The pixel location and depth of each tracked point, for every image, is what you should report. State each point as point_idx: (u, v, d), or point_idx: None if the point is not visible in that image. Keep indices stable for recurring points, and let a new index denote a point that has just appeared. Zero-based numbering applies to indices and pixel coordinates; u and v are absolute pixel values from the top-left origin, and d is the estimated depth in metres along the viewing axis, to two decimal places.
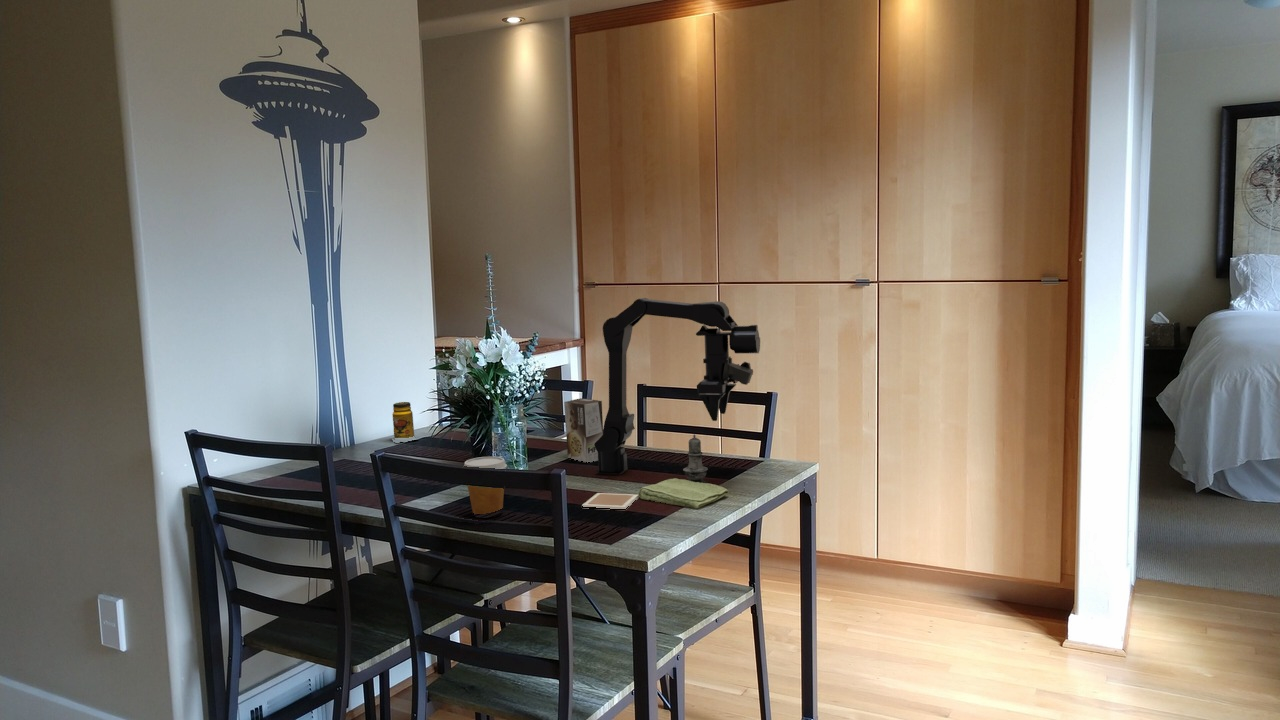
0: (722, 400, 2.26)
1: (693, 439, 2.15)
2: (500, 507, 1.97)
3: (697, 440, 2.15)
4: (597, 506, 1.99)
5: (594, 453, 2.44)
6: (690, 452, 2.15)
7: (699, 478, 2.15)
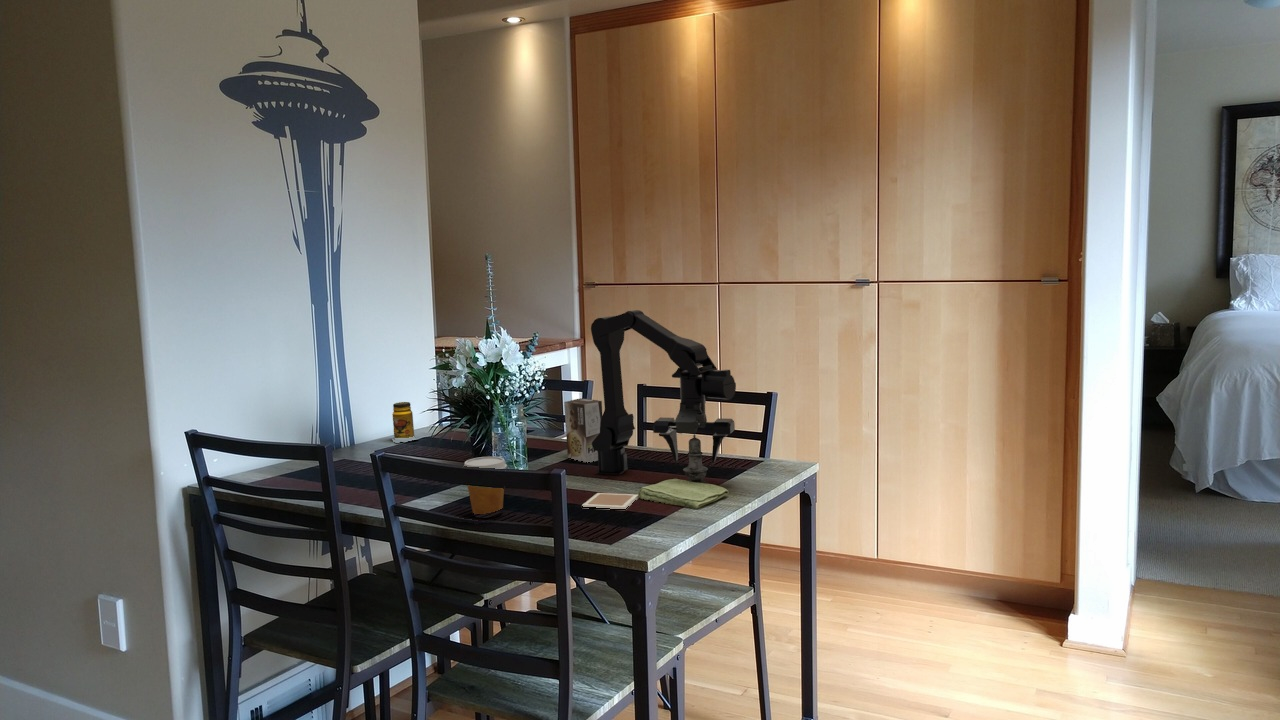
0: None
1: (693, 439, 2.15)
2: (500, 507, 1.97)
3: (697, 440, 2.15)
4: (597, 506, 1.99)
5: (594, 453, 2.44)
6: (690, 452, 2.15)
7: (699, 478, 2.15)
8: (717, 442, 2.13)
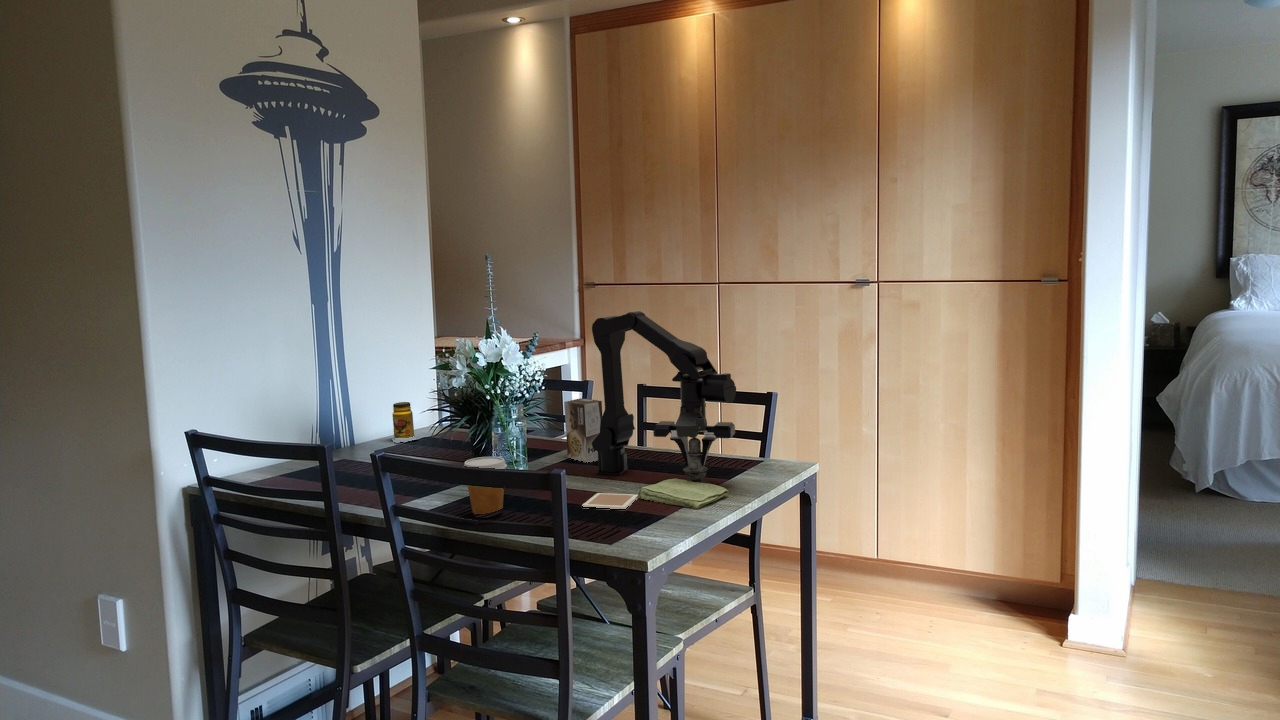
0: None
1: (693, 439, 2.15)
2: (500, 507, 1.97)
3: (697, 440, 2.15)
4: (597, 506, 1.99)
5: (594, 453, 2.44)
6: (690, 452, 2.15)
7: (699, 478, 2.15)
8: (706, 445, 2.14)
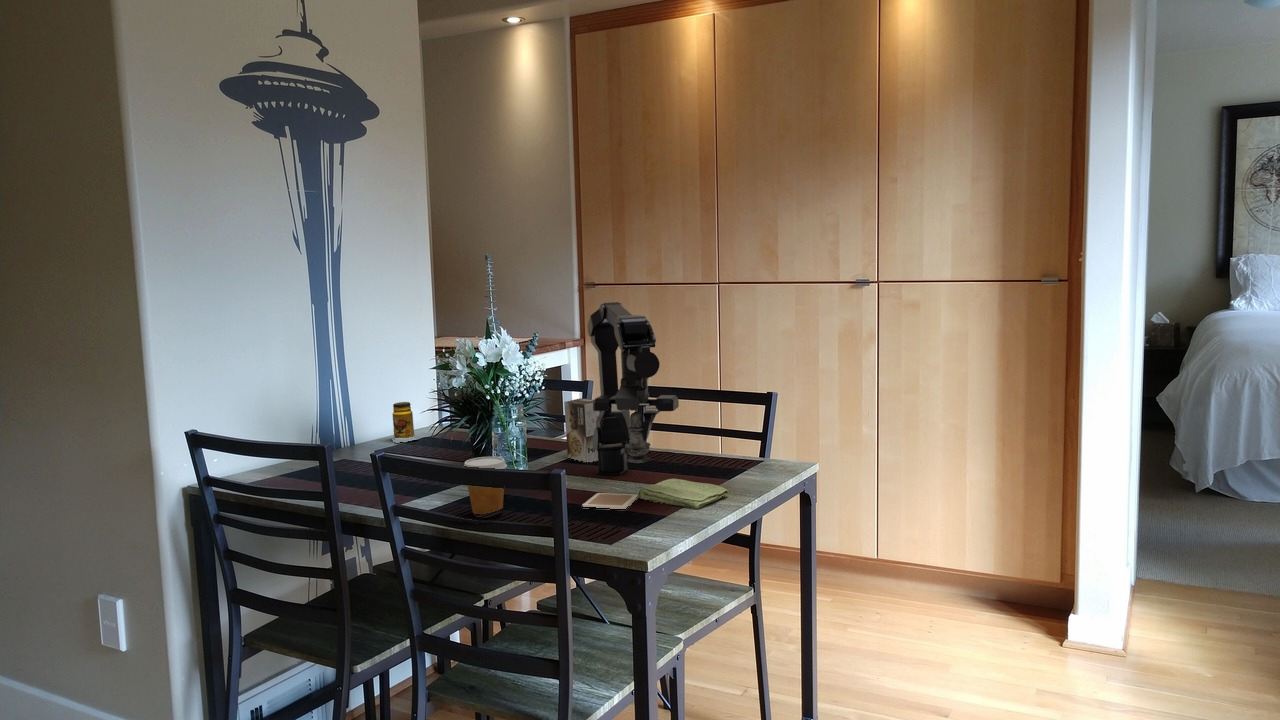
0: None
1: (635, 413, 2.05)
2: (500, 507, 1.97)
3: (639, 414, 2.05)
4: (597, 506, 1.99)
5: (594, 453, 2.44)
6: (632, 427, 2.05)
7: (641, 454, 2.04)
8: (648, 420, 2.03)
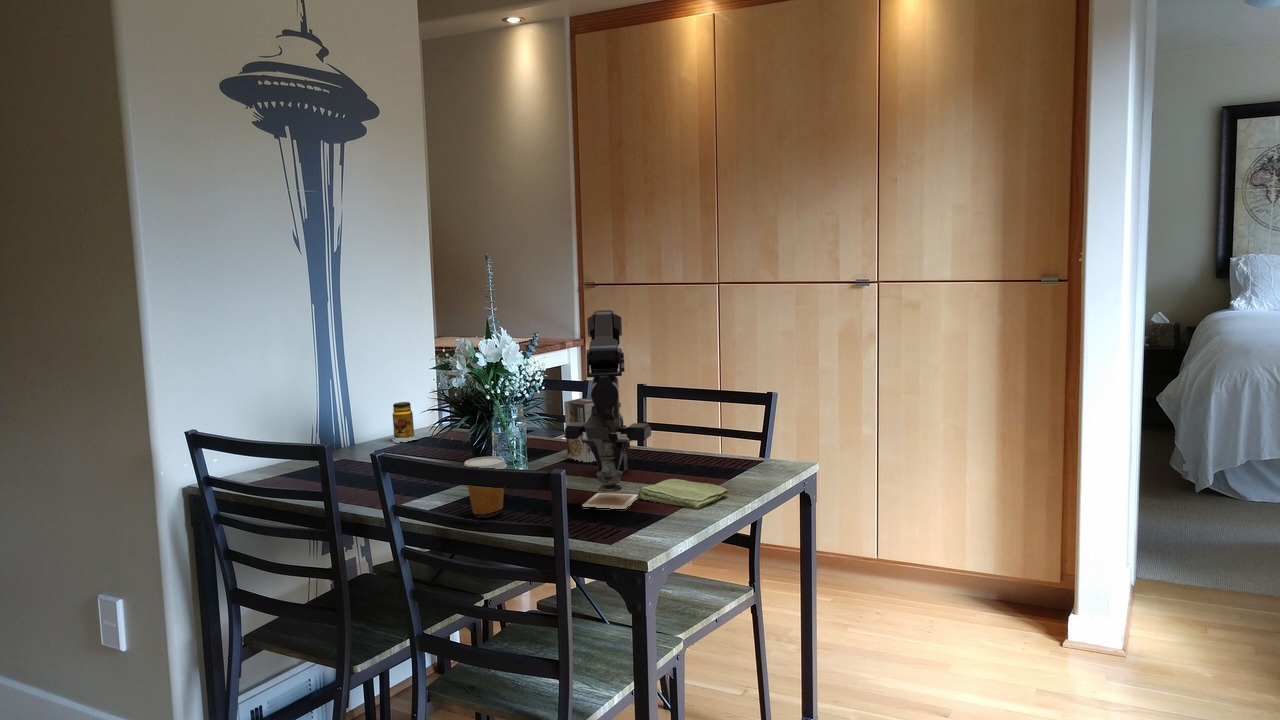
0: None
1: (606, 441, 2.01)
2: (500, 507, 1.97)
3: (610, 442, 2.01)
4: (597, 506, 1.99)
5: None
6: (603, 455, 2.01)
7: (612, 483, 2.01)
8: (620, 448, 2.00)
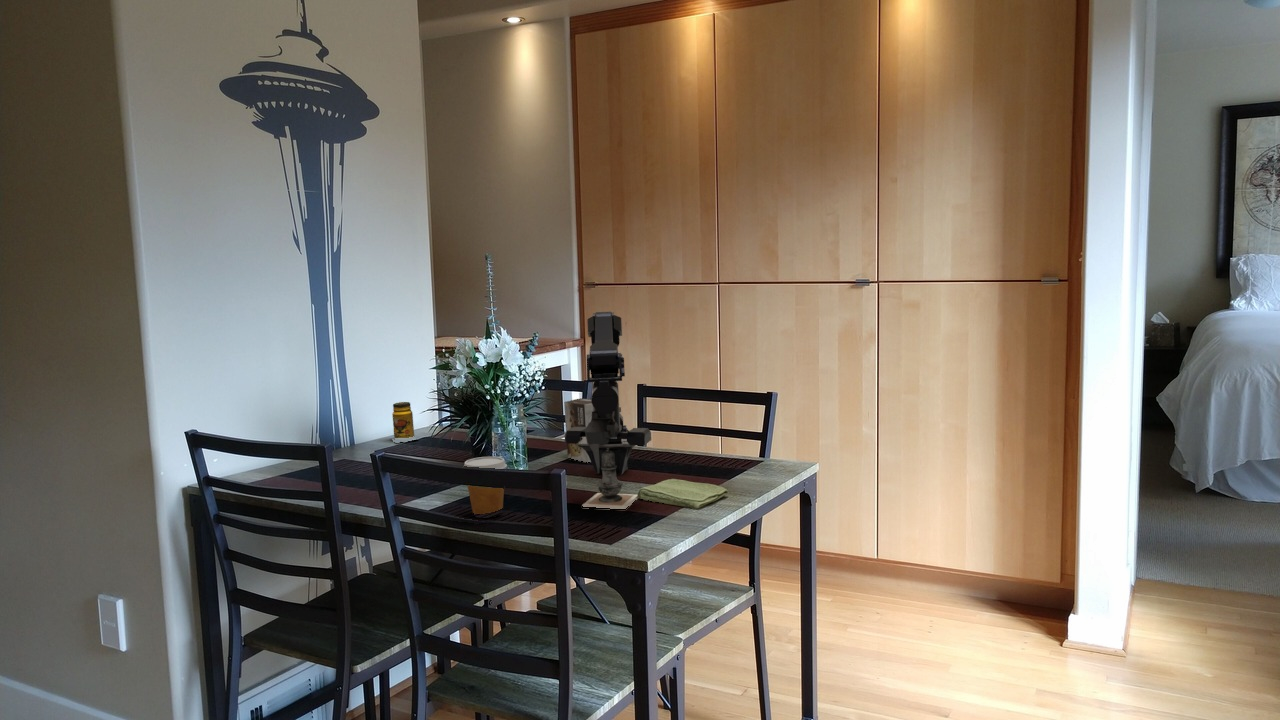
0: None
1: (606, 452, 2.01)
2: (500, 507, 1.97)
3: (610, 453, 2.01)
4: (597, 506, 1.99)
5: None
6: (603, 466, 2.02)
7: (613, 494, 2.01)
8: (624, 453, 2.00)
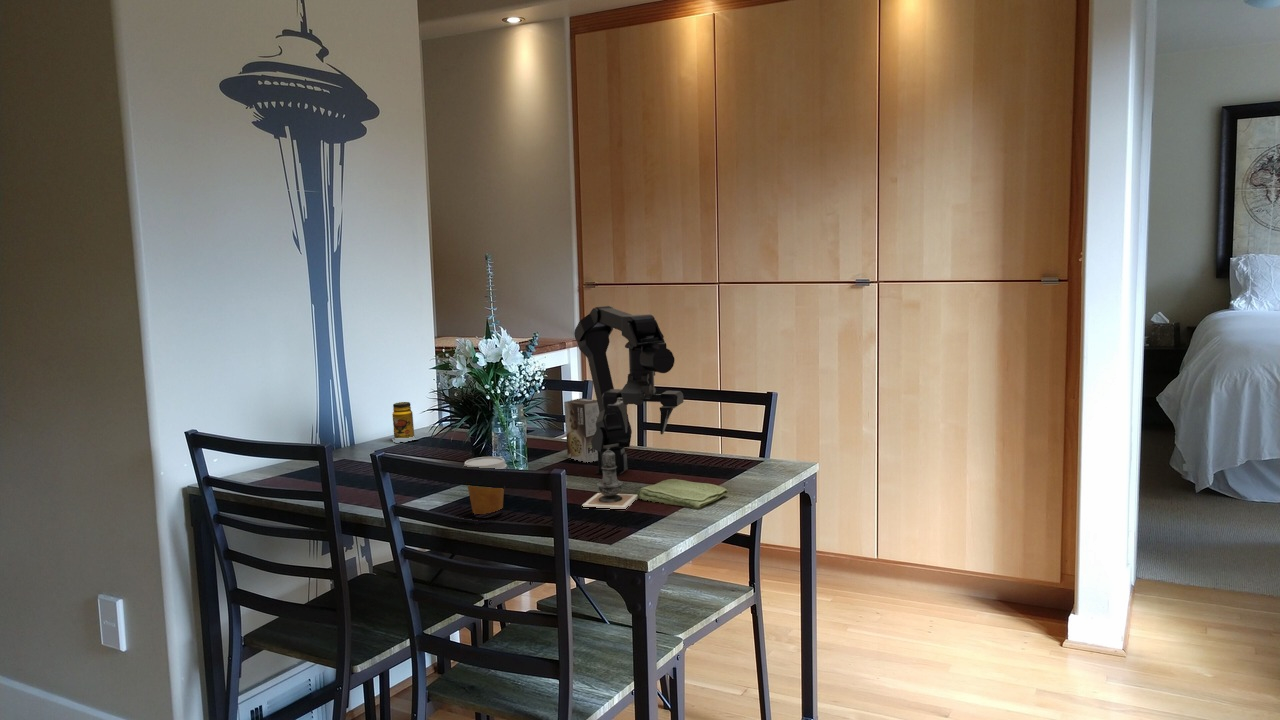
0: None
1: (607, 452, 2.02)
2: (500, 507, 1.97)
3: (611, 453, 2.01)
4: (597, 506, 1.99)
5: (594, 453, 2.44)
6: (604, 466, 2.02)
7: (613, 493, 2.01)
8: (665, 414, 2.12)
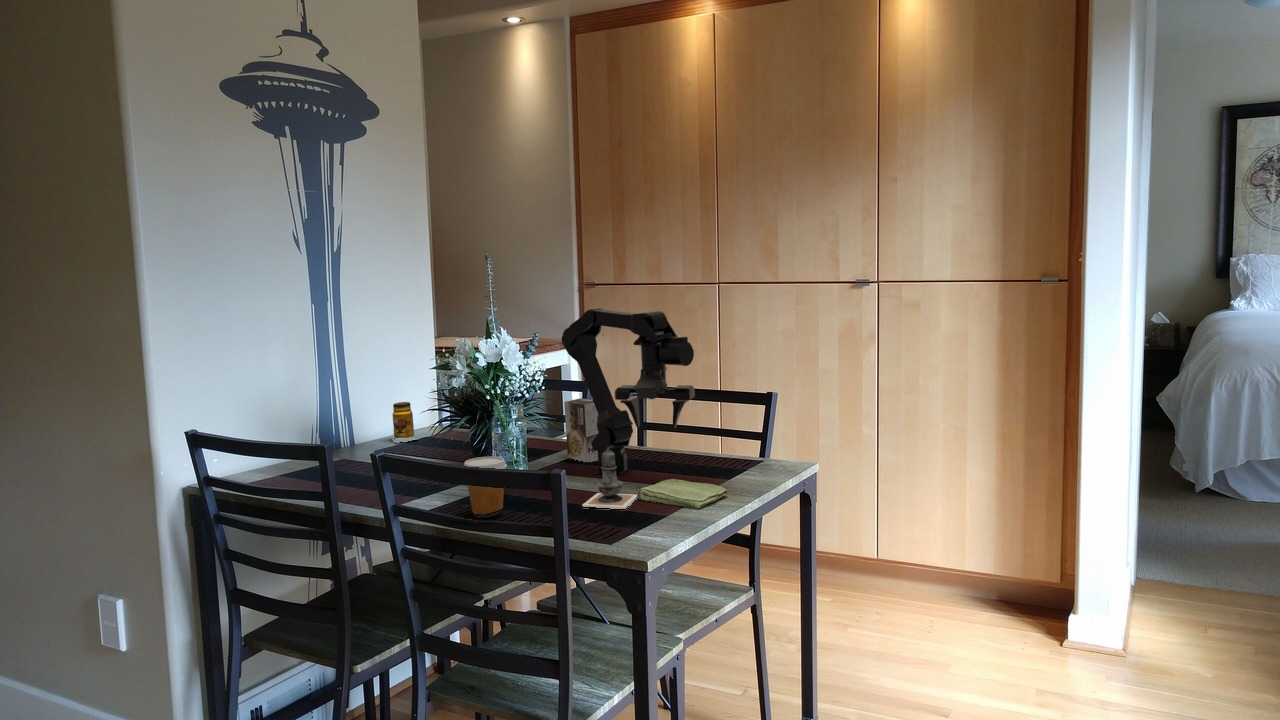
0: None
1: (607, 452, 2.02)
2: (500, 507, 1.97)
3: (611, 453, 2.01)
4: (597, 506, 1.99)
5: (594, 453, 2.44)
6: (603, 466, 2.02)
7: (613, 493, 2.01)
8: (677, 408, 2.17)
